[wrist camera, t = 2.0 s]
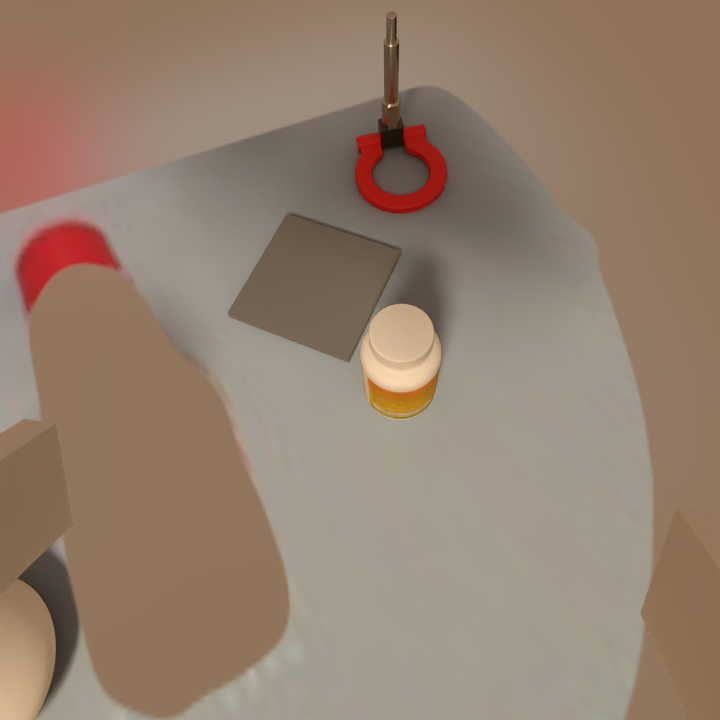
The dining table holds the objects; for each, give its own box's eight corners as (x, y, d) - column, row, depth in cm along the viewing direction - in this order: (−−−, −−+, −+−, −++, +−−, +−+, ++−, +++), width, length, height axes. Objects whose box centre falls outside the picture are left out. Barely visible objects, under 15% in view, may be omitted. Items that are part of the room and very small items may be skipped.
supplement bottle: (446, 404, 39) (463, 350, 30) (382, 433, 39) (379, 387, 30) (415, 346, 41) (421, 280, 32) (353, 372, 41) (343, 312, 32)
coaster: (229, 316, 43) (227, 313, 43) (288, 218, 47) (287, 213, 47) (349, 362, 41) (348, 359, 41) (400, 254, 45) (400, 250, 44)
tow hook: (455, 206, 47) (431, 130, 51) (478, 86, 35) (444, -3, 39) (365, 224, 47) (346, 146, 50) (357, 109, 35) (334, 17, 38)
